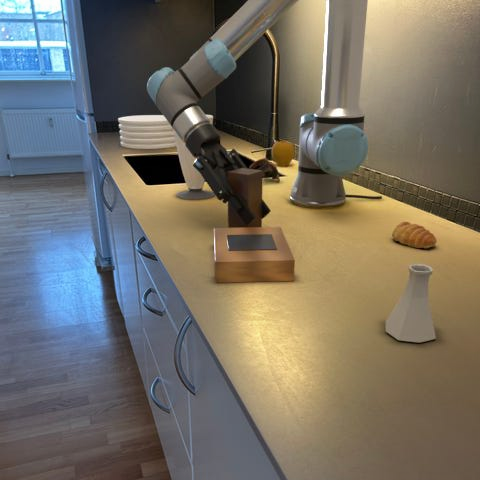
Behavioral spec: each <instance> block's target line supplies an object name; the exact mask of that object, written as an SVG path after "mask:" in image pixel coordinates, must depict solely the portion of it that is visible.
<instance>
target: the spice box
mask: <svg viewBox="0 0 480 480" xmlns="http://www.w3.org/2000/svg"><path fill="white" fill-rule="evenodd" d="M247 168H248V167H247ZM247 168H240V169H236V170H233V171H229V172H227V173H226V176H227V179H228V181H229V182H230V184H231V186H232V188H233V190H234V193H235V194H237V193H238V194H239V195H240V196H241V198H242V199H243V201H244V202H245V203H246V205H247V206H248V207H249V209H250V210H251V212H252V213H253V214H254V216H255V217H256V218H255V219H254V220H253V221H252V222H251V223H249V224H248V225H246V224H245V223H244V222H243V220H242V219H241V217H240V216H239V215H238V213H237V212H236V211H235V210H234V209H233V207H232V206H231V205H230V203H229V202H228V201H227V228H246V227H263V226H262V225H263V222H262V221H263V219H262V199H263V182H264V181H263V180H264V179H263V178H264V177H263V171H262V170H256V169H255V168H254V169H249V168H248V169H247ZM235 194H234V195H235Z"/></svg>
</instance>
